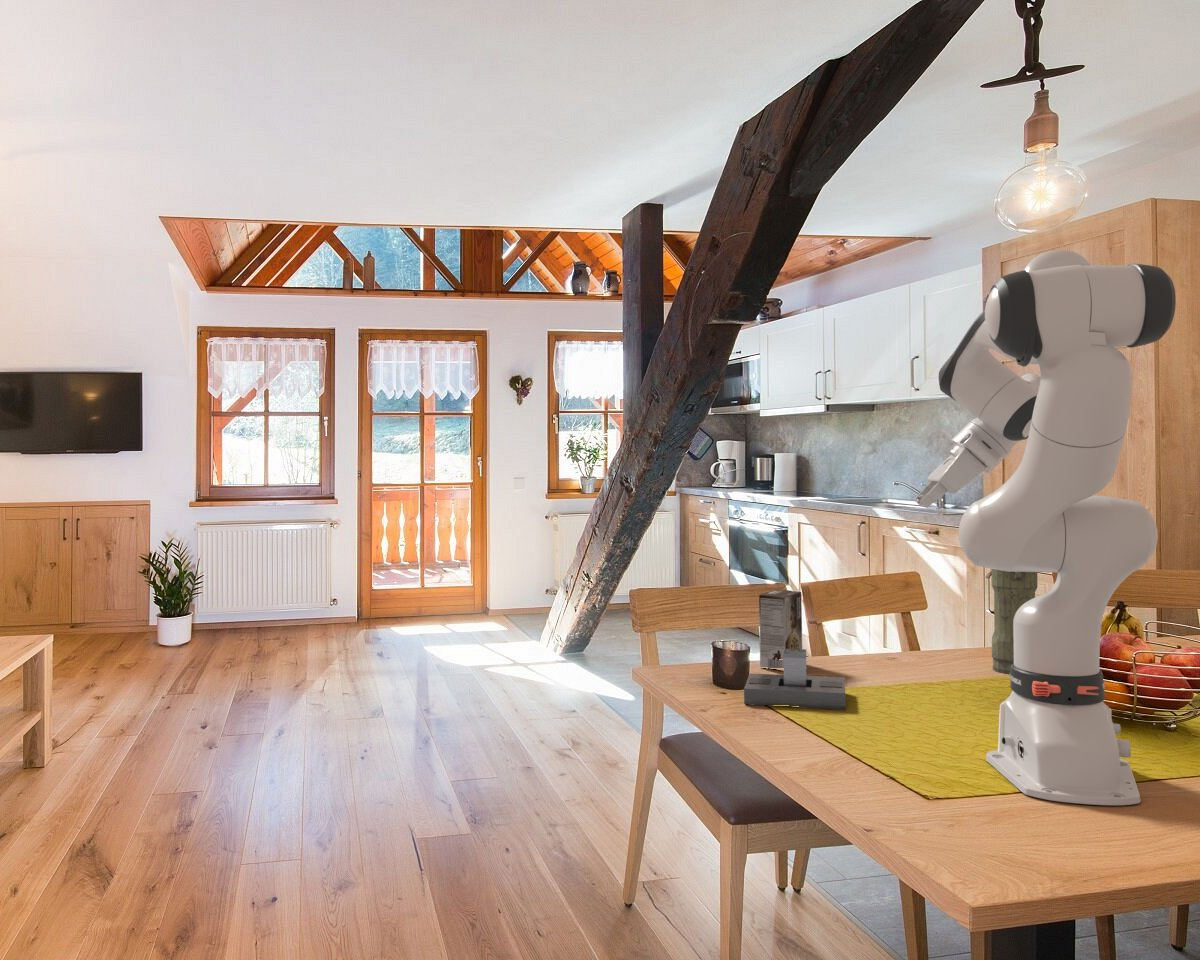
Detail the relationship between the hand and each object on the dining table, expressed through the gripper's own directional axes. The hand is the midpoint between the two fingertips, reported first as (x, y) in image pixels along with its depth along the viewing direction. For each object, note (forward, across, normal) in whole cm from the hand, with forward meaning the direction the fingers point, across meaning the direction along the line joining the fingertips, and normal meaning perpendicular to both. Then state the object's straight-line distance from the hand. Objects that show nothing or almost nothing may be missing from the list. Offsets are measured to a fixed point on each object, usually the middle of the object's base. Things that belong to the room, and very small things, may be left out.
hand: (920, 504), depth 164 cm
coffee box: (+45, -24, +7) cm, 51 cm away
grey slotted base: (+42, +4, +10) cm, 43 cm away
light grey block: (+42, +4, +10) cm, 43 cm away
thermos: (+11, -28, +41) cm, 51 cm away
